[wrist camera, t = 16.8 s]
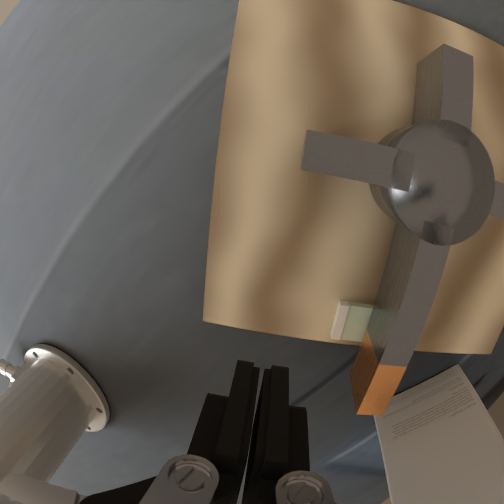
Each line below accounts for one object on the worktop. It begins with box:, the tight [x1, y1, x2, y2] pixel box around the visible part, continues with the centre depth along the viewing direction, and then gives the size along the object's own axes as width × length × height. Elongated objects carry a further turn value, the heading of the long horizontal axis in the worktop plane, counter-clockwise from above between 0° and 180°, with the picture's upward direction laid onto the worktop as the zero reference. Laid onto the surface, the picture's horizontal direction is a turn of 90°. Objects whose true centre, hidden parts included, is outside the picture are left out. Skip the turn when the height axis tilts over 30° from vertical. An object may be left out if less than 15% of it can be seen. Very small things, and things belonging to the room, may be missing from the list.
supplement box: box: [374, 364, 504, 504], centre depth 16 cm, size 9×9×15 cm
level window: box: [330, 300, 374, 342], centre depth 20 cm, size 6×3×1 cm, turn 83°
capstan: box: [300, 44, 504, 415], centre depth 15 cm, size 21×14×5 cm, turn 173°
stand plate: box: [203, 0, 504, 354], centre depth 17 cm, size 24×24×2 cm
